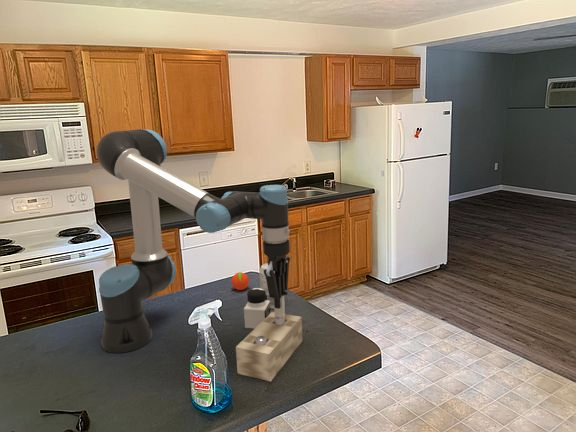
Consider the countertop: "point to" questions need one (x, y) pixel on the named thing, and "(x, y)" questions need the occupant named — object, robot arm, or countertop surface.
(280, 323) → the pin
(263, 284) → the supplement can
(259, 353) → the pin block
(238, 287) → the tomato
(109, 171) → the robot arm
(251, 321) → the medicine bottle
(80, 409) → the countertop surface
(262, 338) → the pin
